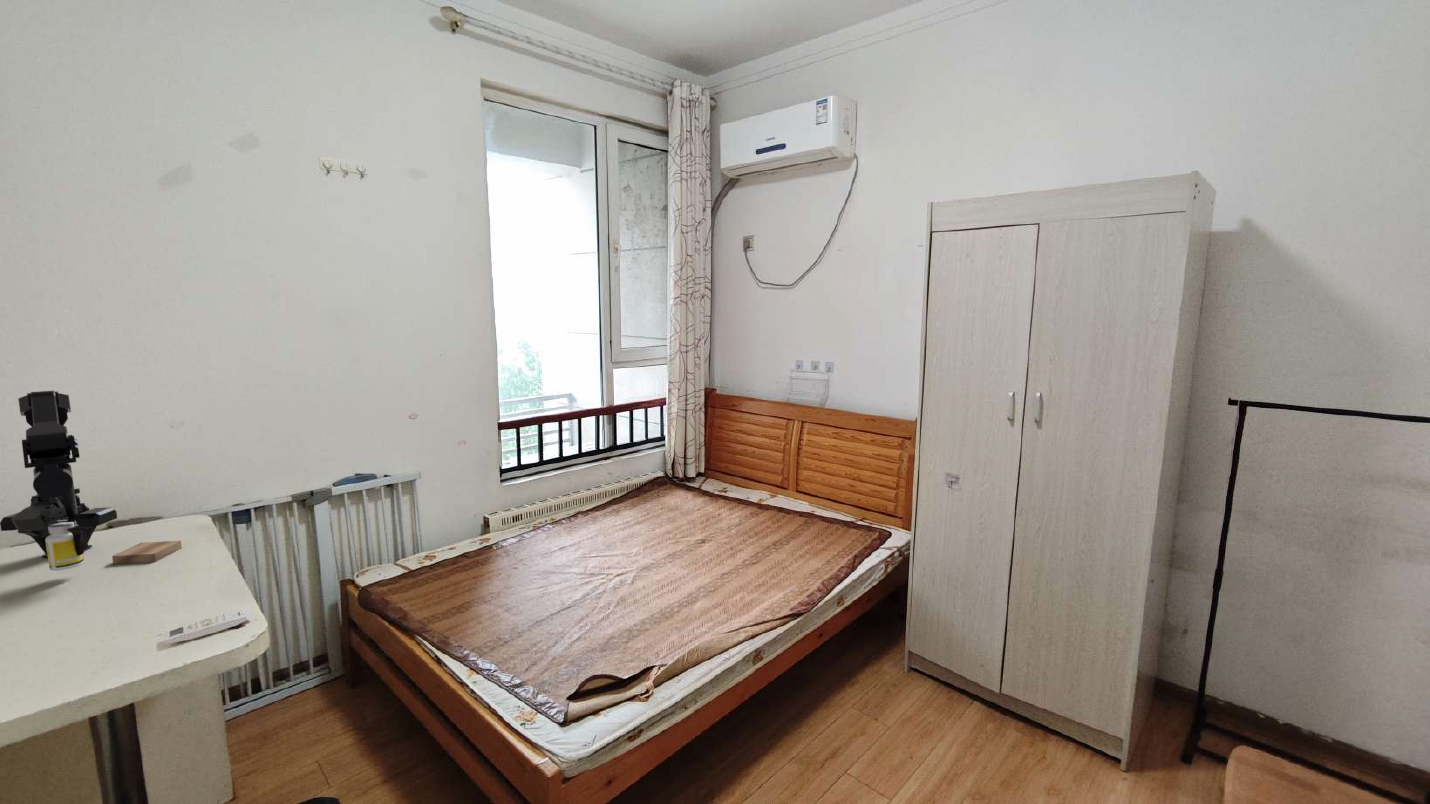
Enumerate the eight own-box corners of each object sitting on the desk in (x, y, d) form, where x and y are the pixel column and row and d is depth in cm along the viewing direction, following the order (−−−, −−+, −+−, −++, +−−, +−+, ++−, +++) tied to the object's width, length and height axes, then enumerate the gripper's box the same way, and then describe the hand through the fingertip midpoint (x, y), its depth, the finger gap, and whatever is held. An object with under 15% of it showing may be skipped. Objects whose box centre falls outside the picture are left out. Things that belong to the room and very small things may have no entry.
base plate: (113, 564, 147) (112, 556, 147) (141, 550, 156) (140, 542, 156) (155, 561, 148) (154, 553, 148) (181, 548, 157) (180, 540, 157)
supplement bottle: (91, 562, 141) (85, 520, 140) (64, 571, 136) (57, 528, 134) (70, 561, 142) (63, 520, 140) (42, 570, 136) (35, 528, 135)
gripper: (-32, 500, 127) (-20, 572, 129) (72, 496, 130) (82, 567, 132) (19, 486, 138) (30, 553, 140) (114, 482, 141) (123, 548, 143)
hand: (65, 555), depth 138 cm, fingers closed on supplement bottle, 5 cm apart
